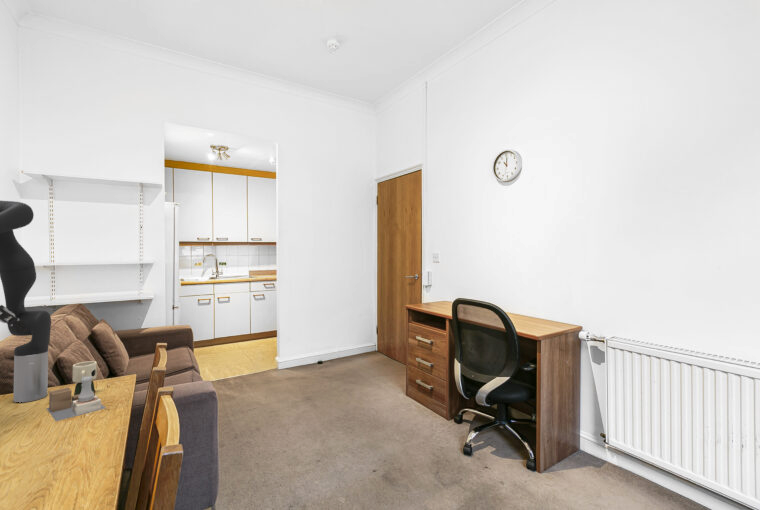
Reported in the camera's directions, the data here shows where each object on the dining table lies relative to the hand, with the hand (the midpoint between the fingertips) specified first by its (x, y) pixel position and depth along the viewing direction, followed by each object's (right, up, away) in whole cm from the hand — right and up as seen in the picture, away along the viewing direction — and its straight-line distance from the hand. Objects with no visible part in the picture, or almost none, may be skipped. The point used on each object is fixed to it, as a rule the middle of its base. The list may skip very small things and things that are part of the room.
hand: (25, 328), depth 113 cm
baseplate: (+9, -31, +9) cm, 33 cm away
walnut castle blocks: (+5, -30, +12) cm, 32 cm away
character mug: (+1, -31, +21) cm, 38 cm away
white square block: (+13, -30, +8) cm, 33 cm away
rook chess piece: (+13, -27, +8) cm, 31 cm away
